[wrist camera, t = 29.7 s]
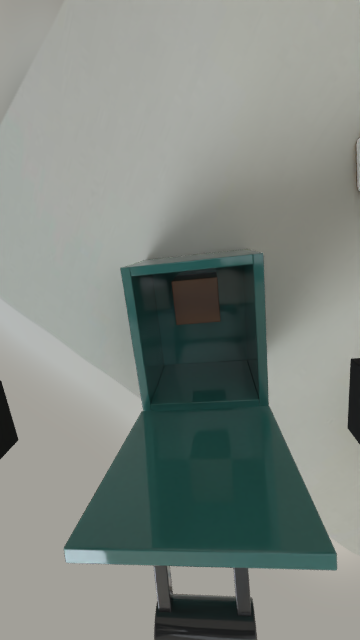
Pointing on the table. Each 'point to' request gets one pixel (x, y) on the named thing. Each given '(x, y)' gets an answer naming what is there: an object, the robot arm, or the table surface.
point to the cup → (358, 163)
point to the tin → (199, 334)
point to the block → (196, 298)
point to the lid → (203, 513)
